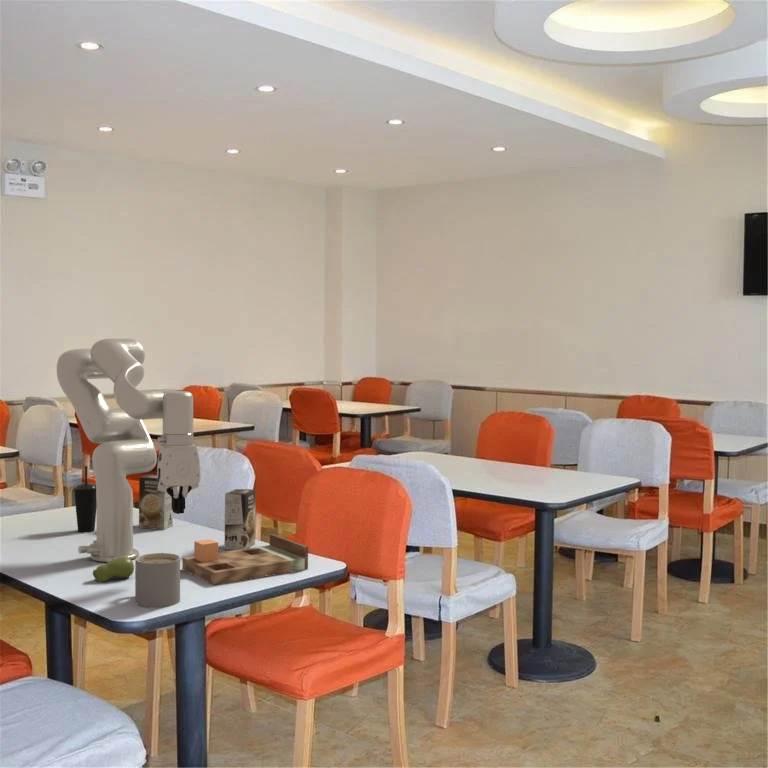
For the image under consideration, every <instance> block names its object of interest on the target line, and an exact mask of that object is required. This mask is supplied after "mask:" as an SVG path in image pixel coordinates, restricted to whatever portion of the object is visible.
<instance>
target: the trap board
mask: <svg viewBox="0 0 768 768" xmlns="http://www.w3.org/2000/svg"><path fill="white" fill-rule="evenodd" d="M181 563H182V566H181V567H182V569H181V570H183V569H184V570H183V571H185V572H187V573H189V572H190V573H189V574H191V573H192V574H191V575H193V576H195V575H196V576H195V577H197V576H198V577H197V578H199V577H200V578H199V579H201V578H202V579H201V580H203V579H204V580H203V581H205V580H206V582H207V581H208V582H207V583H209V582H210V583H209V584H211V583H212V585H213V584H214V586H216V585H215V584H218V585H223V583H224V584H229V583H228V582H230V583H234V582H235V581H236V582H240V581H239V580H242V581H245V580H244V579H247V580H251V579H250V578H253V579H256V578H255V577H259V578H263V577H262V576H265V577H269V576H268V575H271V576H274V575H273V574H277V575H281V574H280V573H283V574H287V573H286V572H289V573H292V572H291V571H294V572H300V571H305V570H304V569H306V570H308V569H309V546H308V545H306V544H302V543H299V542H296V541H293V540H290V539H288V538H286V537H284V536H283V537H282V536H279V535H277V534H274V533H271V534H269V545H261V546H254V547H253V546H252V547H249V548H246V549H240V550H227V551H226V550H225V551H221V552H219V551H218V560H213V561H206V562H201V561H199V560H197V559H194V555H193V556H186V557H182V561H181ZM299 570H300V571H299ZM266 575H267V576H266Z"/></svg>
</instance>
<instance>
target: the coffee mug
mask: <svg viewBox="0 0 768 768" xmlns="http://www.w3.org/2000/svg"><path fill="white" fill-rule="evenodd" d="M134 559H135V560H134V561H135V565H134V574H135V578H134V580H135V583H134V584H135V586H134V589H135V590H134V594H135V595H134V597H135V598H134V599H135V601H134V602H135V604H136V605H137V606H140V607H143V608H166V607H167V608H168V607H171V606H174V605H177V604H178V603H180V602H181V601H180V600H181V557H180V556H179V554H178V555H177V554H176V553H170V552H169V553H167V552H153V553H147V554H142V555H139V556H138V557H136V558H134Z"/></svg>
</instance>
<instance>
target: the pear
mask: <svg viewBox="0 0 768 768" xmlns="http://www.w3.org/2000/svg"><path fill="white" fill-rule="evenodd" d="M134 572H135V565H134V562H133V559H129V558H127V557H120V558H116V559H113V560H111V561H109V562H105V564H101V565H99V566H97V567H96V569H93V571H92V575H93V578H94V580H96V582H97V583H105V582H107V581H109V580H110V579H112V578H115V579H122V578H125V579H127V578H129V577H131V576H132V574H133V573H134Z"/></svg>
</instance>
